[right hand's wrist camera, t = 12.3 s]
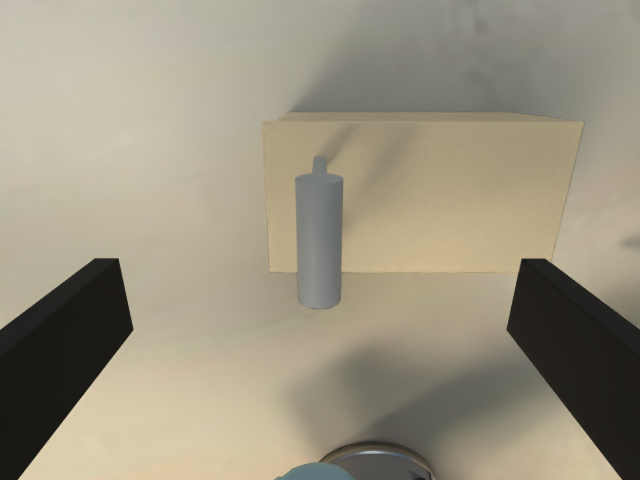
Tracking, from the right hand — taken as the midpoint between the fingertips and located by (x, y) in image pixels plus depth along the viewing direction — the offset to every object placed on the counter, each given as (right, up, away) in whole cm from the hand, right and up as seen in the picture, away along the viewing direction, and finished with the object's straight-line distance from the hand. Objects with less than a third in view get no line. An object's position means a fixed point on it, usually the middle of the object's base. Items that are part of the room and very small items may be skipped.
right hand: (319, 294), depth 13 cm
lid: (+6, +4, +11) cm, 13 cm away
